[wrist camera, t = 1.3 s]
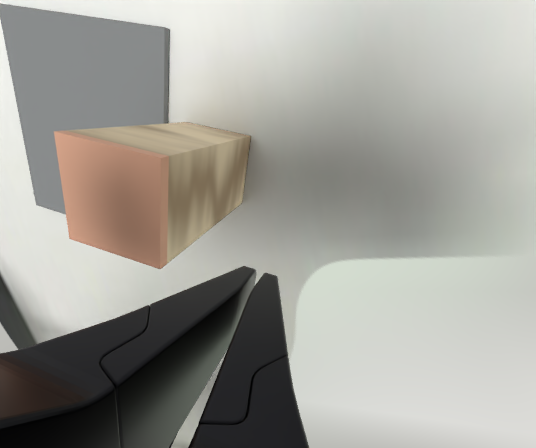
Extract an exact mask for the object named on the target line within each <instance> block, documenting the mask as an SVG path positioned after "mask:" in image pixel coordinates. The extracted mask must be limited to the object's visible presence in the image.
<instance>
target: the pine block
mask: <svg viewBox="0 0 536 448" xmlns="http://www.w3.org/2000/svg"><path fill="white" fill-rule="evenodd" d="M54 136H55V143H56V150H57V157H58V163H59V170H60V177H61V184H62V190H63V197H64V204H65V211H66V218H67V224H68V231H69V238H70V239H72V240H75V241H78V242H81V243H84V244H87V245H90V246H93V247H96V248H99V249H102V250H105V251H108V252H111V253H114V254H117V255H120V256H123V257H125V258H128V259H131V260H134V261H137V262H140V263H143V264H146V265H149V266H152V267H155V268H158V269H161V268H162V267H164V266H165V265H166V264H167V263H169V262H170V261H171V260H172V259H174V258H175V257H176V256H177V255H178V254H180V253H181V252H182V251H183V250H185V249H186V248H187V247H188V246H190V245H191V244H192V243H193V242H195V241H196V240H197V239H198V238H200V237H201V236H202V235H203V234H204V233H206V232H207V231H208V230H209V229H211V228H212V227H213V226H214V225H216V224H217V223H218V222H219V221H221V220H222V219H223V218H224V217H226V216H227V215H228V214H229V213H230V212H232V211H233V210H234V209H235V208H237V207H238V206H239V205H240V204H242V199H243V191H244V184H245V177H246V169H247V162H248V154H249V147H250V140H251V136H248V135H244V134H239V133H235V132H230V131H225V130H221V129H216V128H211V127H207V126H202V125H197V124H193V123H188V122H181V123H167V124H152V125H138V126H123V127H109V128H95V129H80V130H66V131H54Z"/></svg>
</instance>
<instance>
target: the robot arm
mask: <svg viewBox="0 0 536 448" xmlns="http://www.w3.org/2000/svg"><path fill="white" fill-rule="evenodd" d="M255 278H256V270H255V269H252V268H249V267H246V266H243V267H240V268H238V269H235V270H233V271H230V272H228V273H226V274H223V275H221V276H218V277H216V278H213V279H211V280H209V281H206V282H204V283H201V284H199V285H196V286H194V287H192V288H189V289H187V290H184V291H182V292H179V293H177V294H175V295H172V296H170V297H167V298H165V299H162V300H160V301H158V302H155V303H153V304H151V305H150V306H149V305H148V306H145V307H143V308H140V309H138V310H135V311H133V312H130V313H128V314H125V315H122V316H120V317H117V318H115V319H112V320H109V321H106V322H103V323H100V324H97V325H94V326H91V327H88V328H85V329H82V330H79V331H76V332H73V333H70V334H67V335H64V336H61V337H57V338H54V339H51V340H48V341H45V342H42V343H39V344H36V345H33V346H30V347H26V348H23V349H19V350H16V351H11V352H6V353H1V354H0V448H171V446H172V444H173V441H174V439H175V437H176V435H177V433H178V431H179V429H180V428H181V426H182V424H183V423H184V421H185V419H186V418H187V416H188V414H189V412H190V411H191V409H192V407H193V406H194V404H195V402H196V401H197V399H198V397H199V396H200V394H201V392H202V391H203V389H204V387H205V386H206V384H207V382H208V381H209V379H210V377H211V376H212V374H213V372H214V371H215V369H216V367H217V365H218V364H219V362H220V360H221V359H222V357H223V355H224V354H225V352H226V350H227V349H228V350H227V353H226V355H225V358H224V360H223V363H222V365H221V368H220V370H219V373H218V375H217V378H216V380H215V383H214V385H213V388H212V391H211V393H210V396H209V398H208V401H207V403H206V406H205V408H204V411H203V413H202V416H201V418H200V421H199V424H198V427H197V429H196V431H195V434H194V436H193V439H192V441H191V443H190V445H189V447H188V448H309V445H308V442H307V438H306V435H305V431H304V428H303V424H302V421H301V417H300V413H299V409H298V405H297V401H296V398H295V393H294V389H293V383H292V378H291V372H290V365H289V358H288V351H287V344H286V337H285V329H284V322H283V314H282V307H281V300H280V292H279V285H278V278H277V276H275V275H272V274H268V273H264V274H263V276H262V277H261V278H260V280H259V281H258V283H257V284H256V285H255V287H254V284H255Z"/></svg>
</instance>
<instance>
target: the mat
mask: <svg viewBox="0 0 536 448" xmlns="http://www.w3.org/2000/svg"><path fill="white" fill-rule="evenodd" d="M0 19H1V24H2V29H3V34H4V39H5V44H6V50H7V55H8V60H9V65H10V70H11V76H12V81H13V86H14V91H15V96H16V102H17V107H18V112H19V117H20V122H21V128H22V133H23V138H24V143H25V148H26V154H27V159H28V164H29V169H30V174H31V180H32V185H33V190H34V195H35V200H36V205H38V206H41V207H44V208H47V209H51V210H54V211H57V212H60V213H63V214H66V211H65V204H64V197H63V190H62V184H61V177H60V170H59V163H58V157H57V150H56V143H55V136H54V131H66V130H80V129H95V128H109V127H123V126H138V125H152V124H167V123H168V81H169V29H167V28H165V27H158V26H151V25H144V24H137V23H130V22H124V21H117V20H110V19H103V18H96V17H89V16H82V15H75V14H68V13H61V12H54V11H48V10H41V9H34V8H27V7H20V6H13V5H6V4H0Z"/></svg>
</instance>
